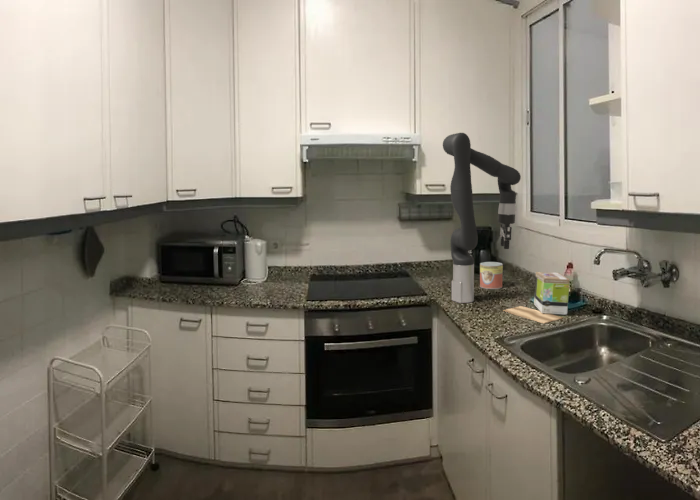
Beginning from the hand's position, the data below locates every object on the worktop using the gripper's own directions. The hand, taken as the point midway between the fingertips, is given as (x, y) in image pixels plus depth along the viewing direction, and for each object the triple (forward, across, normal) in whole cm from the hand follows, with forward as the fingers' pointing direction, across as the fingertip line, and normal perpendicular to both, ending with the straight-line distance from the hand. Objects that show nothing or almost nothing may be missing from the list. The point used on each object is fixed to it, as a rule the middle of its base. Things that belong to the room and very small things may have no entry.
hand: (504, 247), depth 202 cm
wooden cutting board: (+22, +32, +6) cm, 39 cm away
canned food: (+24, -17, -2) cm, 29 cm away
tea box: (+22, +25, +15) cm, 37 cm away
